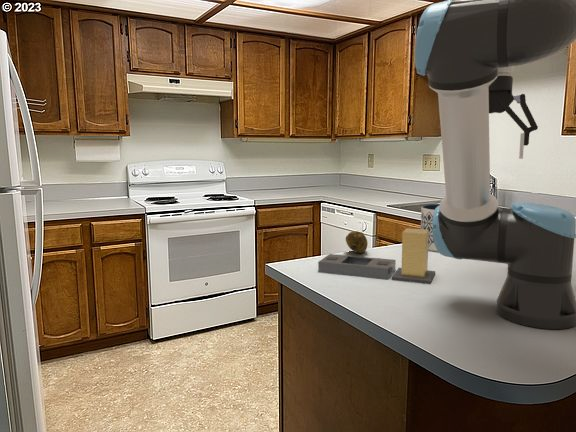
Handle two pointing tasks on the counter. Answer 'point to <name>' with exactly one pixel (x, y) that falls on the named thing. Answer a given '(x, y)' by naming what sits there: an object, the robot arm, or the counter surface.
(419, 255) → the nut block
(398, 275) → the pad
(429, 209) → the planter
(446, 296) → the counter surface
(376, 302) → the counter surface
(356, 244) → the potato
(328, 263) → the grey slotted block
